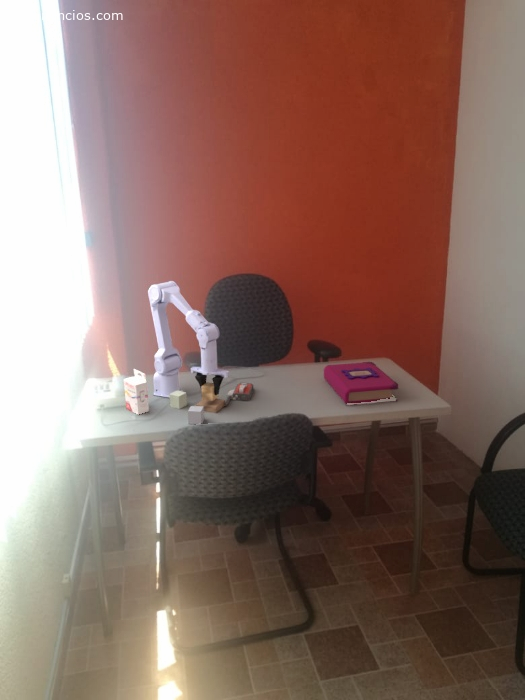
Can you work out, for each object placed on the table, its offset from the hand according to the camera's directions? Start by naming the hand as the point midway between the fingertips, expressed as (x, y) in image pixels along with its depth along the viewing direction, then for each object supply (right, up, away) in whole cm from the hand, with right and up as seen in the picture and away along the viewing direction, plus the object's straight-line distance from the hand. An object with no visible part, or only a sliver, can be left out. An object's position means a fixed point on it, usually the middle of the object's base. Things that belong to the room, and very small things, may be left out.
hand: (210, 393), depth 203 cm
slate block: (-4, -9, -10) cm, 14 cm away
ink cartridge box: (-27, -6, 0) cm, 27 cm away
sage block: (-12, -5, +3) cm, 14 cm away
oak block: (0, -2, 0) cm, 2 cm away
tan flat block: (0, -6, +2) cm, 6 cm away
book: (+57, -1, +17) cm, 60 cm away
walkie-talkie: (+10, -3, +11) cm, 15 cm away
